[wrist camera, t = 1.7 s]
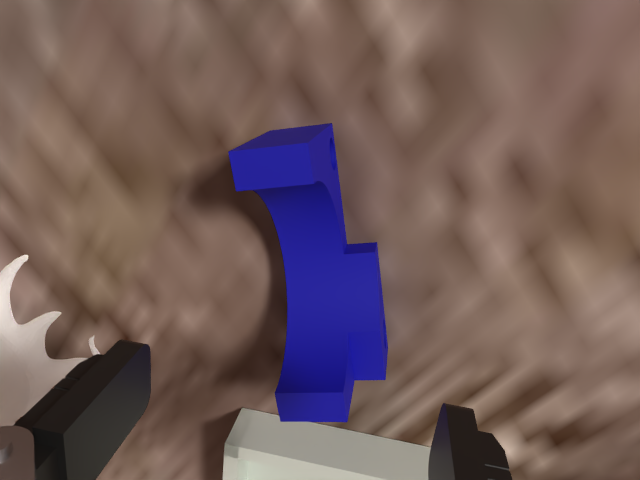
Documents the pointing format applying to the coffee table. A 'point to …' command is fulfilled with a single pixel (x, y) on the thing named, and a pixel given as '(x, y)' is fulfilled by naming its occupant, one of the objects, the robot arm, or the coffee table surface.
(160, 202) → the coffee table surface
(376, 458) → the parts tray
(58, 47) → the coffee table surface
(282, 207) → the blue curved bracket
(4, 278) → the tree stump
